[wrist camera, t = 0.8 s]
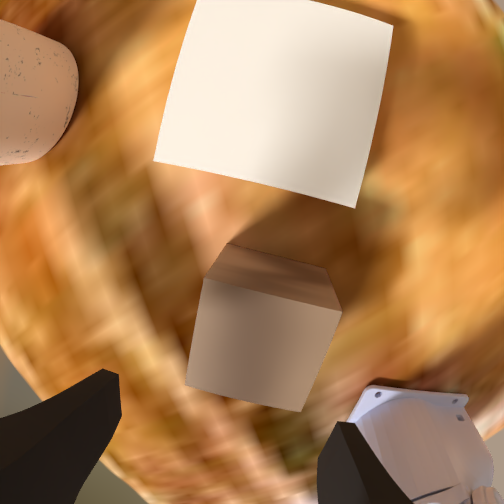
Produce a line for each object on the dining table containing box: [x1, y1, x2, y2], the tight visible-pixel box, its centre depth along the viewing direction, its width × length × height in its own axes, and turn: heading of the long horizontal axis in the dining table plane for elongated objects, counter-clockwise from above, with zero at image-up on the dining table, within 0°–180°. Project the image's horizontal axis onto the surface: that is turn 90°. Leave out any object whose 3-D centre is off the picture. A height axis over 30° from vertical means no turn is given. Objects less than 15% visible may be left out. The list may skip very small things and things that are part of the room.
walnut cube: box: [185, 243, 343, 412], centre depth 16 cm, size 6×6×6 cm
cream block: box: [154, 0, 393, 208], centre depth 14 cm, size 9×9×4 cm
